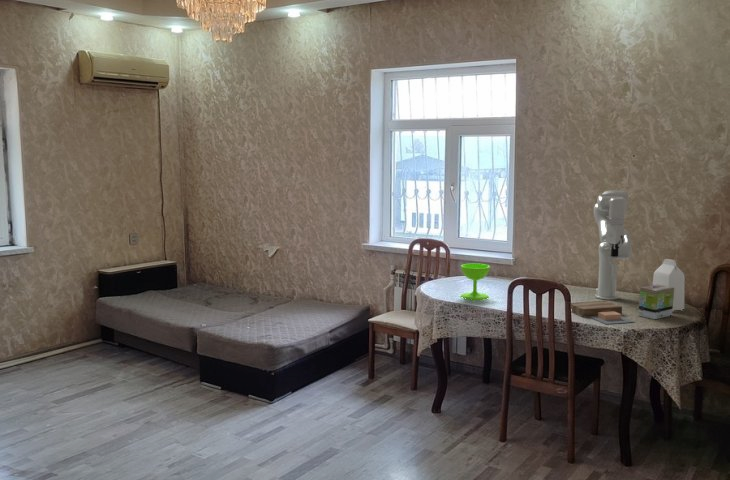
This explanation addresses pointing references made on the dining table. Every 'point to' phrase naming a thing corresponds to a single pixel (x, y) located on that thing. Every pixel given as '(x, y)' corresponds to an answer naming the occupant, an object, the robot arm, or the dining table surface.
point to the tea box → (656, 301)
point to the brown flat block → (594, 308)
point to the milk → (671, 281)
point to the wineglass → (475, 279)
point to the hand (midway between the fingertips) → (614, 256)
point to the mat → (622, 320)
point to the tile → (609, 315)
